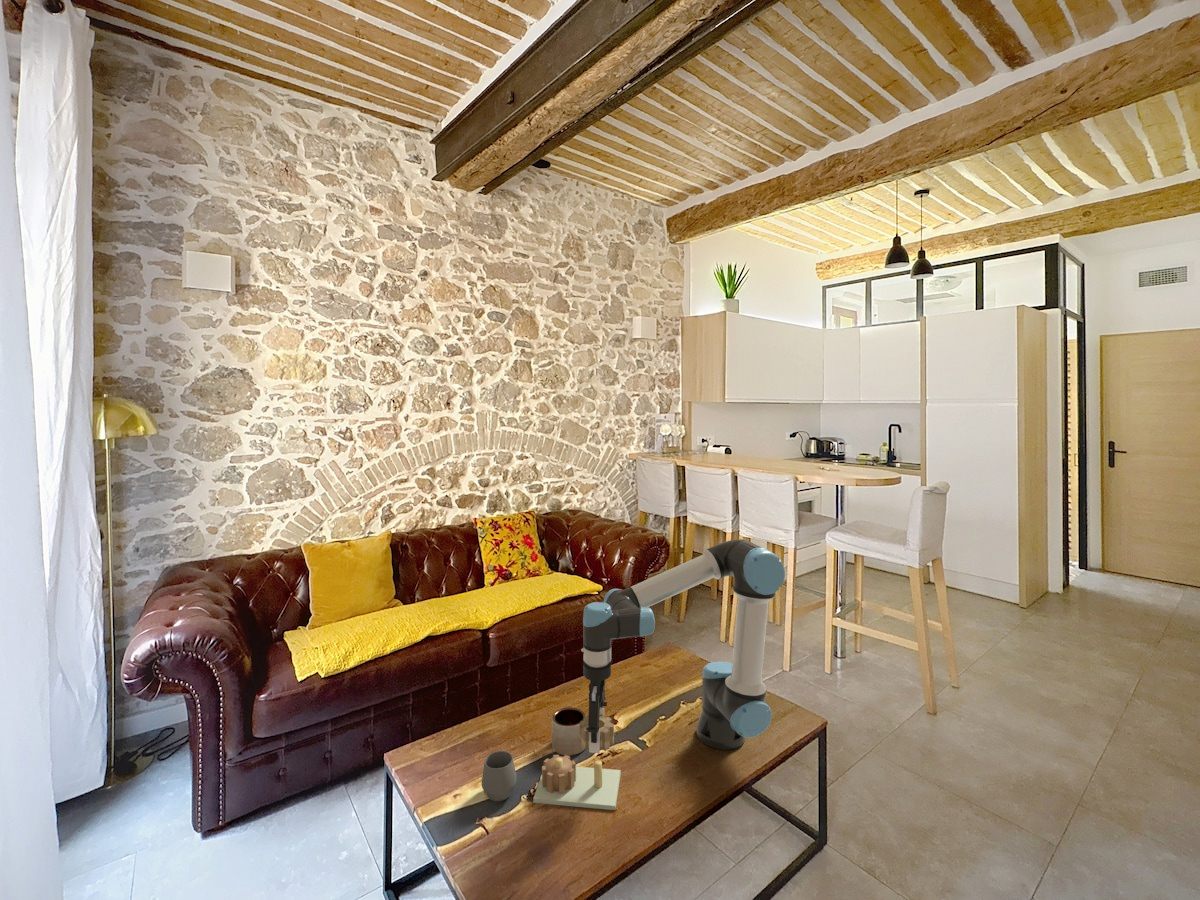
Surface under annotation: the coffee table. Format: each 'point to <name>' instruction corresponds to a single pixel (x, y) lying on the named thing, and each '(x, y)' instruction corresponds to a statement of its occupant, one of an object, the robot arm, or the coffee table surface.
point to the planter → (567, 731)
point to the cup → (499, 775)
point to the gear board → (577, 784)
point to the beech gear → (605, 733)
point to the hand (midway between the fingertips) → (597, 740)
